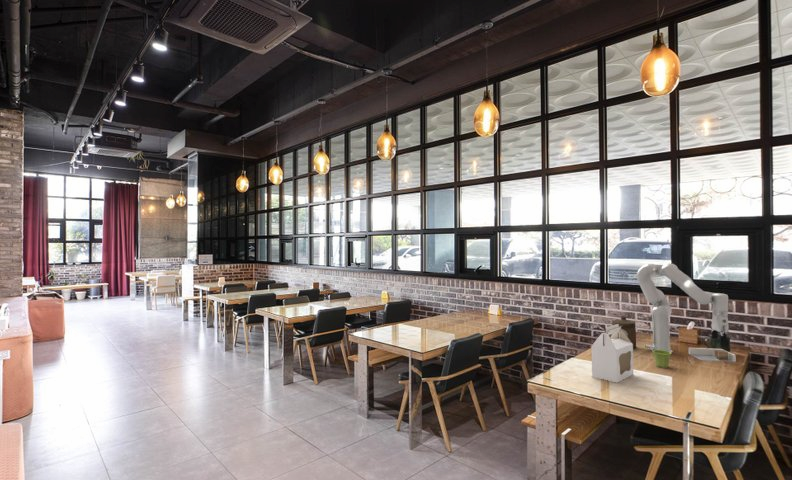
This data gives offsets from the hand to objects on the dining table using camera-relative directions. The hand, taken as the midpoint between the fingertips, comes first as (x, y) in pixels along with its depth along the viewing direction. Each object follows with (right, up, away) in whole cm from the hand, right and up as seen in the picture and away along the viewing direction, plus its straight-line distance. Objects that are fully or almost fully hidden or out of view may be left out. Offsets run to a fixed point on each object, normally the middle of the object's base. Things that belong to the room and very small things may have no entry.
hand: (718, 340), depth 253 cm
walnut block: (+1, -11, -1) cm, 11 cm away
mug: (+12, -13, +16) cm, 24 cm away
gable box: (-82, -13, -28) cm, 87 cm away
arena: (-2, -12, +3) cm, 13 cm away
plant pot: (-43, -13, -12) cm, 47 cm away
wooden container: (-39, -14, +35) cm, 55 cm away
